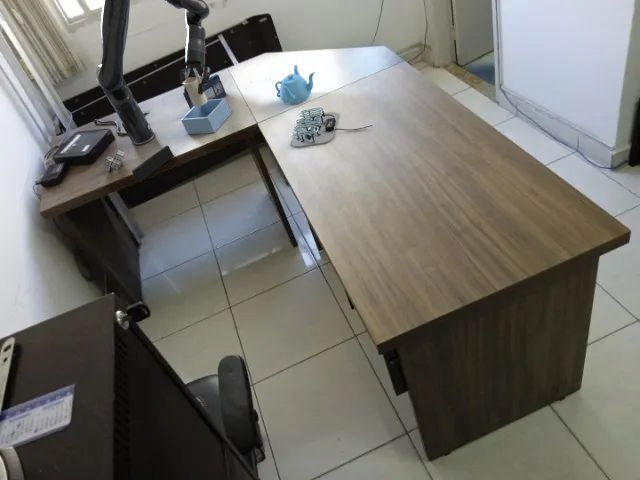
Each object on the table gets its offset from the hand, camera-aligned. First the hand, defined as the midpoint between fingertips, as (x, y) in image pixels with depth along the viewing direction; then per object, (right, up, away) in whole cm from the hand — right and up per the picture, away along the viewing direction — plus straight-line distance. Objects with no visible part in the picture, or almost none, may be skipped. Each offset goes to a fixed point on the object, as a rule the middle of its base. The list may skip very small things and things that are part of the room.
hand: (193, 94), depth 191 cm
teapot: (+42, 0, +6) cm, 43 cm away
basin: (+4, -9, +10) cm, 14 cm away
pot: (+2, -2, +4) cm, 5 cm away
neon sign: (+56, -18, -19) cm, 62 cm away
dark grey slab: (-12, -31, -7) cm, 34 cm away
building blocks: (-32, -29, +3) cm, 43 cm away
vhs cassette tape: (+1, +3, +25) cm, 26 cm away
